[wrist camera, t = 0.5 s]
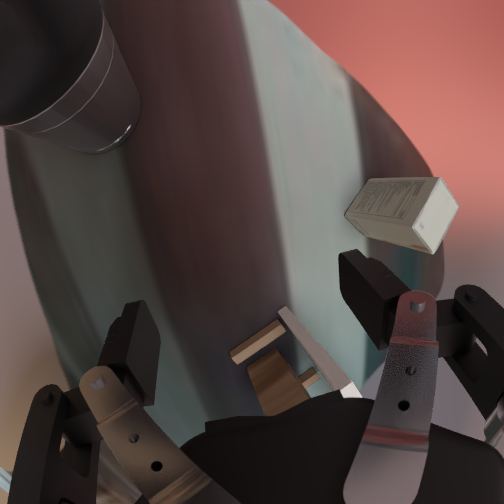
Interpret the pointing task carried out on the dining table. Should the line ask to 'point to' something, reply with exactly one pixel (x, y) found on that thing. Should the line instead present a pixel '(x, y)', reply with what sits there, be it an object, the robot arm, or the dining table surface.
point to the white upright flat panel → (309, 344)
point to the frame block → (276, 383)
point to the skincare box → (404, 211)
